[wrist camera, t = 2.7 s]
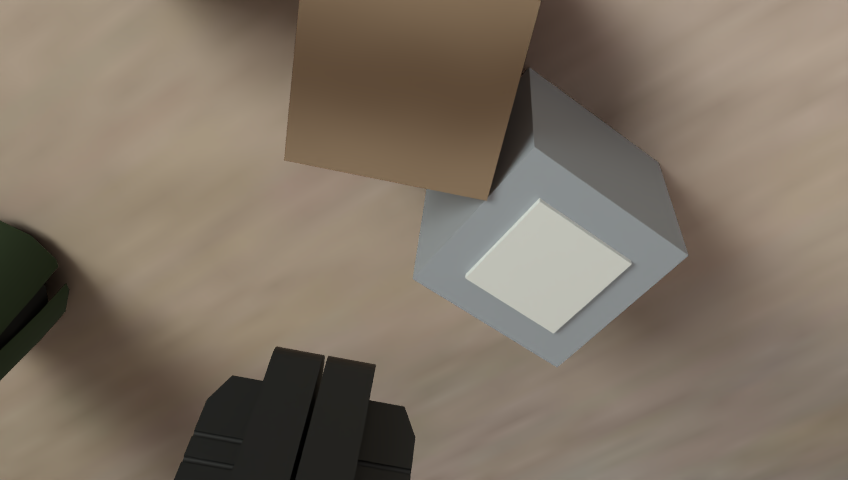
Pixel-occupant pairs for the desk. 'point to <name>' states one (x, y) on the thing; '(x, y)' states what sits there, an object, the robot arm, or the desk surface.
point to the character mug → (25, 295)
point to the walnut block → (407, 88)
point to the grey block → (552, 228)
